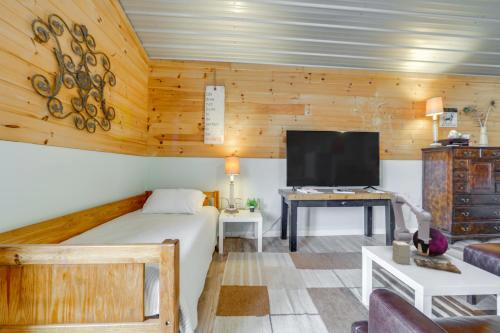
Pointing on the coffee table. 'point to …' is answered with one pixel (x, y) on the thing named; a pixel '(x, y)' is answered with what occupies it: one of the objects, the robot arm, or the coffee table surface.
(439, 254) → the decorative sphere
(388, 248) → the coffee table surface
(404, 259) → the supplement box
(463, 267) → the coffee table surface
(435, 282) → the coffee table surface
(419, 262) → the pin board
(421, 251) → the sleeve
